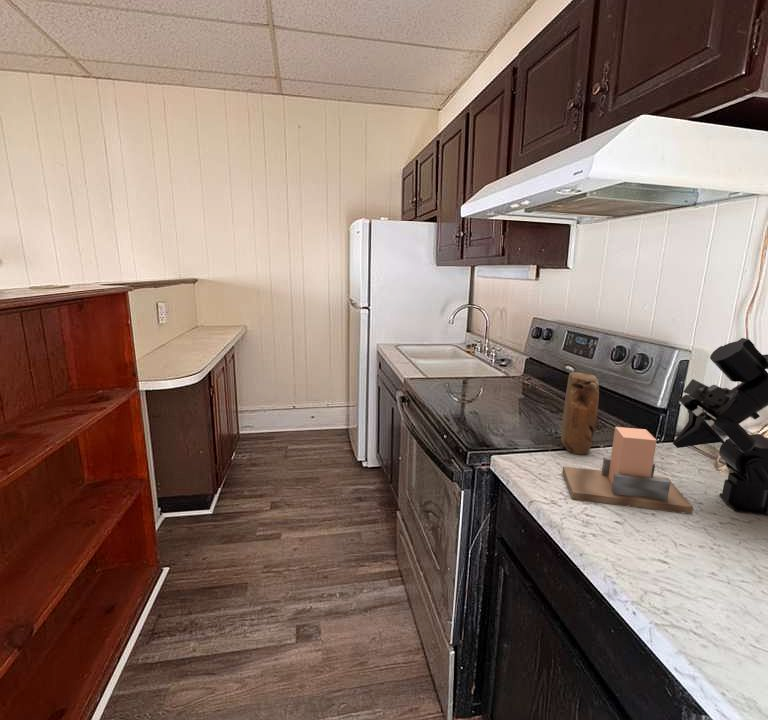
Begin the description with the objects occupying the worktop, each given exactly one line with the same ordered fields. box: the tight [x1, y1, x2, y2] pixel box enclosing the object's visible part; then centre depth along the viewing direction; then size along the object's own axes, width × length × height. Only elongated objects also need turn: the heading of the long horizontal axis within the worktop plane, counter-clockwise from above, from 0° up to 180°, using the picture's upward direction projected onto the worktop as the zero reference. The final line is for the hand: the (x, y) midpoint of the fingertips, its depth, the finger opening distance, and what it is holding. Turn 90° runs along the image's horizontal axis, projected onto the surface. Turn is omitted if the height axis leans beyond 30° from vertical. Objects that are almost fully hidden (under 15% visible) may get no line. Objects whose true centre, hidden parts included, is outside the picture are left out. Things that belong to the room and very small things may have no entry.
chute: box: [562, 456, 694, 514], centre depth 90 cm, size 22×12×6 cm, turn 77°
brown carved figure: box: [560, 371, 600, 455], centre depth 111 cm, size 11×8×20 cm
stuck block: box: [608, 426, 658, 484], centre depth 89 cm, size 6×6×12 cm
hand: (674, 445), depth 87 cm, fingers closed
